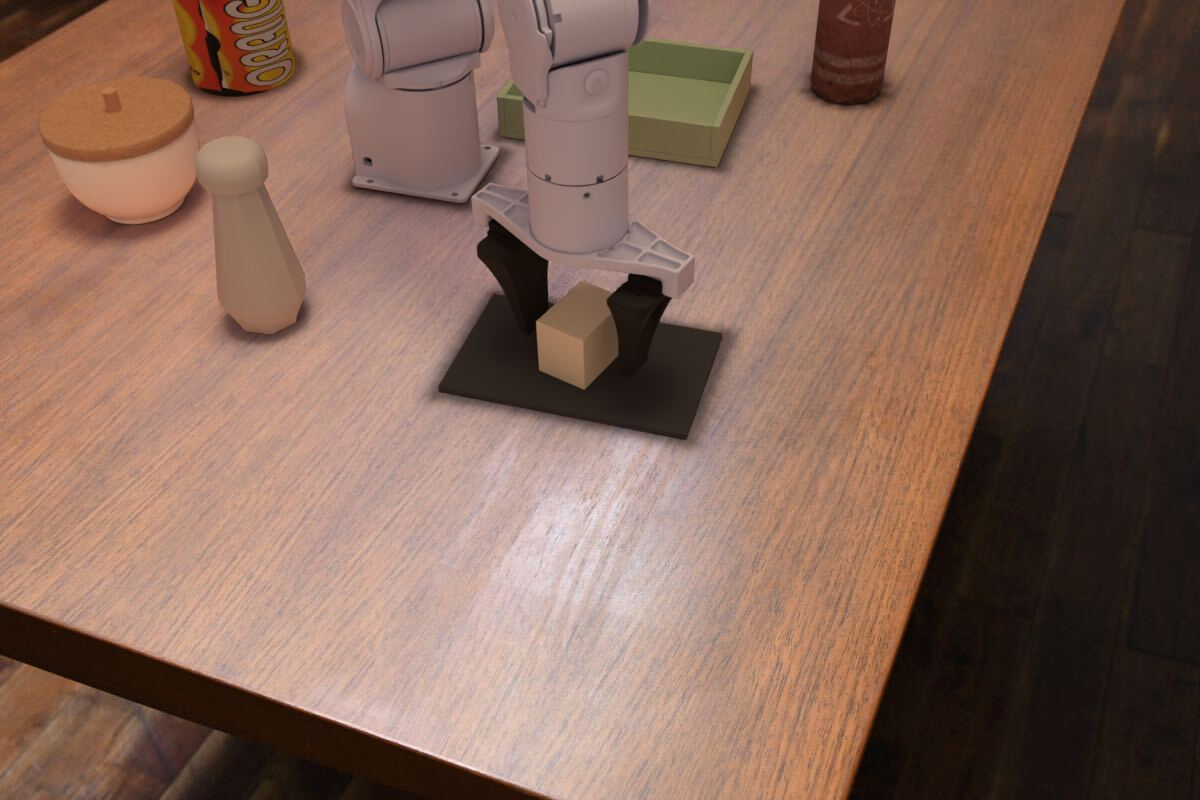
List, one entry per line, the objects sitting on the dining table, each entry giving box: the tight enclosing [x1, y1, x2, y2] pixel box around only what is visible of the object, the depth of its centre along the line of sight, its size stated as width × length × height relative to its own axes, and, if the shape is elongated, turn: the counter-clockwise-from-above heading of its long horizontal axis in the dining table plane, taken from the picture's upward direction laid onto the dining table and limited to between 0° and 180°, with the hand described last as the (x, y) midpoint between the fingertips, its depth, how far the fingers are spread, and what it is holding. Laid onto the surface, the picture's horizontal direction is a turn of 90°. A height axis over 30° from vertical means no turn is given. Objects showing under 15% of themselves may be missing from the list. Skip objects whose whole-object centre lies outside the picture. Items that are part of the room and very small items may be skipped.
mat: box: [437, 292, 723, 440], centre depth 78 cm, size 16×10×1 cm, turn 73°
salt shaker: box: [195, 134, 307, 335], centre depth 78 cm, size 6×6×13 cm
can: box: [810, 0, 897, 105], centre depth 100 cm, size 6×6×14 cm
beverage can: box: [171, 0, 296, 97], centre depth 104 cm, size 9×9×12 cm
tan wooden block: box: [536, 280, 618, 390], centre depth 76 cm, size 4×5×4 cm
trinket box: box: [37, 76, 201, 225], centre depth 89 cm, size 11×11×9 cm
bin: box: [496, 37, 754, 168], centre depth 101 cm, size 18×13×4 cm
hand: (582, 346), depth 77 cm, fingers open, 7 cm apart
